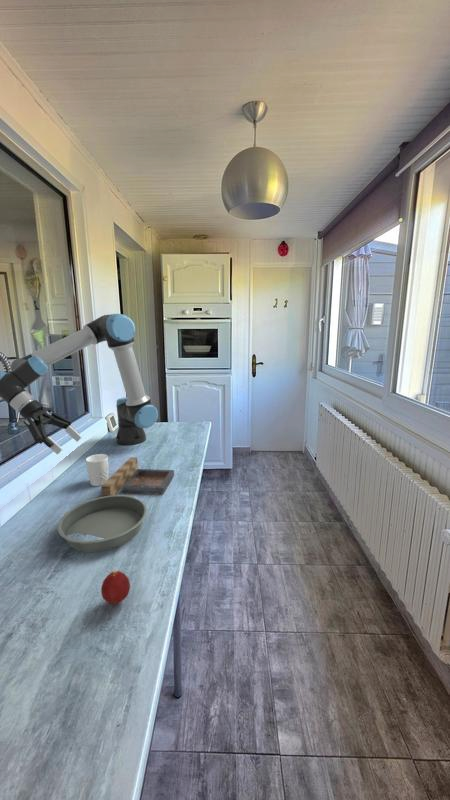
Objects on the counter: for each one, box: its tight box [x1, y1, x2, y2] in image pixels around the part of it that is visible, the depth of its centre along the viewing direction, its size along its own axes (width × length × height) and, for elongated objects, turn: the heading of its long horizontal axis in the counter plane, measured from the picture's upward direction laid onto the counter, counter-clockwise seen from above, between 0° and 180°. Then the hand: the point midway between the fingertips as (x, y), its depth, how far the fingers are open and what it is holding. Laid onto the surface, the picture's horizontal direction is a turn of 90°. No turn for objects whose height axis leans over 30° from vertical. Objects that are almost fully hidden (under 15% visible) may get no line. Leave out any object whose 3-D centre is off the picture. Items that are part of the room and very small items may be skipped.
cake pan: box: [57, 494, 148, 553], centre depth 99 cm, size 25×25×4 cm
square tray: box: [122, 468, 175, 495], centre depth 127 cm, size 15×15×2 cm
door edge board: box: [101, 456, 139, 497], centre depth 128 cm, size 26×3×5 cm, turn 174°
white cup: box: [85, 453, 110, 487], centre depth 128 cm, size 8×8×10 cm
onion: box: [100, 570, 131, 605], centre depth 72 cm, size 6×6×8 cm
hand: (70, 445), depth 127 cm, fingers open, 13 cm apart
